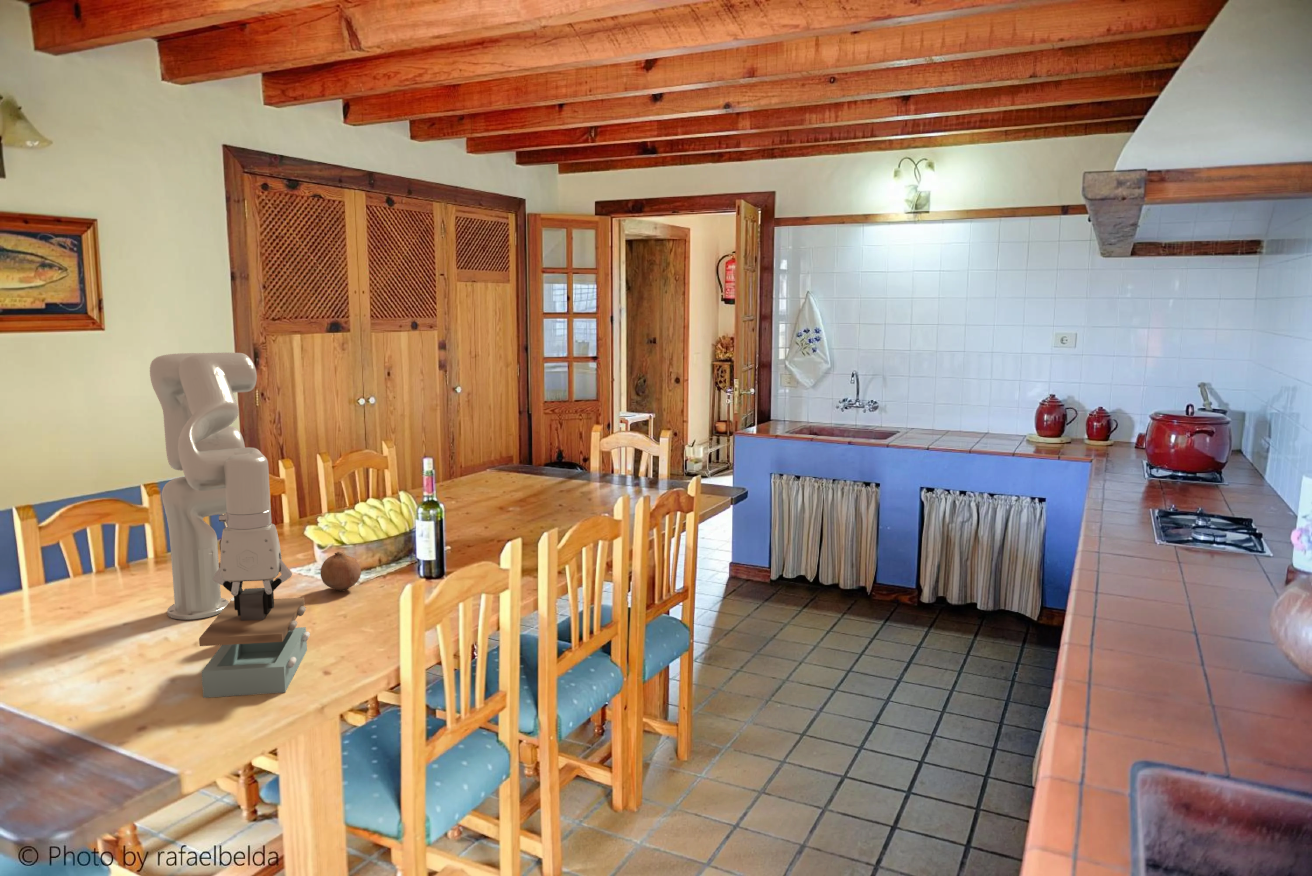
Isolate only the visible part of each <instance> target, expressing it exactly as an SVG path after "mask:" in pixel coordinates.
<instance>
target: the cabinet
mask: <svg viewBox="0 0 1312 876" xmlns="http://www.w3.org/2000/svg"><path fill="white" fill-rule="evenodd" d="M310 636H311V633H310V631H307V627H306V626H304V627H303V626H302V627H295V629H294V630H293V631H288V633H287V635H286V636H285V638H284V640H283V642H269V643H251V644H232V645H220V647H219V648H218V650H216V652H215V653H214V655H213V656H212V658H211V659H210V660H209V661H208V662H207V664H206V665H205V666H204V668H202V670H201V685H202V696H203V697H202V698H203V699H204V698H218V697H219V698H221V697H235V696H236V697H237V696H249V695H250V696H251V695H265V694H266V695H267V694H281V693H286V691H287V690H288V688H289V686H290V685H291V682H292V680H293V678H294V677H295V674H296V673H297V671H298V669H299V667H300V665H301V663H302V661H303V659H304V657H305V655H306V653H307V651H308V645H307V644H308V640H309V638H310Z"/></svg>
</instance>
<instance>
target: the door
mask: <svg viewBox="0 0 1312 876" xmlns="http://www.w3.org/2000/svg"><path fill="white" fill-rule="evenodd" d="M264 593H265V588H264V587H255V588H252V587H251V588H244V589H243V592H242V593H241V594H240V595H239V596H240V612H241V616H238V612H237V610H235V607H234V601H231V600H230V601H228V602H229V603H228V605H227V606H226V607H225V608H224V609H223V611H222V612H221V613H220V614H217V617H215V619H213V621H212V623H210V625H208V627H207V628H206V629H205V631H204V632H203V633H202V634H201V635H200V636H199V638H198V642H199V643H198V644H199V645H198V646H199V647H209V646H211V647H212V646H222V645H232V644H251V643H269V642H283V640H284V638H285V636H286V635H287V633H288V631H293V630H294V629H295V628H297V625H298V622H297V618H298V616H299V617H302V616H304V613H305V612H306V610H307V607H306V606H305V597H285V598H284V597H282V598H274V608H272V609H271V611H270V612H269V614H266V615H265V614H264V604H263V595H264Z"/></svg>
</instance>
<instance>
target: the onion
mask: <svg viewBox="0 0 1312 876" xmlns="http://www.w3.org/2000/svg"><path fill="white" fill-rule="evenodd" d="M361 569H362V568H361V565H360V563H359V562H358V561H357V559H356V558H354V557H352V556H350V555H347V554H345V553H344V552H341V551H336V552H334V553H333V555H330V556H328V557H327V558H326V559H324V561H323V563H322V565H321V568H320V578H321V581H322V583H323V584H324V585H325V586H327V587H329V588H330V589H332V590H333V589H334V590H335V592H344V591H347V590H350V588H352V587H353V586H354V585H355V584H357V583H358V582H359V580H360V578H361V575H362V570H361Z"/></svg>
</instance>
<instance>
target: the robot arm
mask: <svg viewBox="0 0 1312 876" xmlns="http://www.w3.org/2000/svg"><path fill="white" fill-rule="evenodd" d="M257 374H258V373H257V368H256V366H255V364H254V362H253V360H252V358H250V356H248V355H247V354H246V353H242V352H189V353H188V352H187V353H184V352H182V353H168V354H163V355H160V356H157V357H155V358H153V359H152V361H151V363H150V367H149V376H150V377H149V378H150V382H151V387H152V389H153V391H154V393H155V395H156V397H157V399H158V401H159V404H160V406H161V409H162V414H163V424H164V425H163V427H164V442H165V451H166V458H167V461H168V465H169V466H170V467H171V468H172V469H173V470H176V471H183V475H184V476H181V477H177V478H173V479H171V480H169V481H168V482H166V483H165V485H164V486H163V488H162V490H161V500H162V505H163V507H164V512H165V516H166V520H167V527H168V533H169V534H168V535H169V546H170V547H169V548H170V557H171V559H170V560H171V570H172V571H171V572H172V585H173V599H174V604H172V605H170V606H169V607H168V608H167V610H166V611H167V616H168V617H169V618H172V619H175V620H181V621H182V620H183V621H185V620H186V621H187V620H189V621H190V620H198V619H199V620H200V619H206V618H208V617H209V618H210V617H213V616H216V615H217V616H218V615H219V614H220V613H221V612H222V611H223V609H224V608H225V607H226V606H227V605H228V603H229V602H230V601H228V600H227V599H225V598H223V597H222V595H221V592H222V591H221V586H223V587H224V589H226V590H227V591H229V593H230V594H231V596H232V597H234V607H235V610H237V612H238V616H241V612H240V596H239V595H240V594H241V593H242V592H243V591H244V589H243V584H244V583H243V582H257V581H258V582H259V581H260V582H261V581H262V584H263V588H265V593H264V595H263V604H264V614H265V615H266V614H269V612H270V611H271V609H272V608H274V599H275V594H274V593H275V592H274V591H275V590H276V589H277V588H279V586H280V585H281V584H283V583H285V582H286V581H287V580H289V579H290V578H291V577H292V576H293V573H292V571H291V570H290V569H289V567H288V566H287V565H286V564H285V562H284V561H283V560H282V551H281V550H282V549H281V544H280V540H279V539H280V538H279V535H278V530H277V527H276V525H275V524H274V523H272V510H271V508H272V507H271V489H270V471H269V470H270V469H269V460H268V458H267V457H266V456H265V455H264V454H263V453H262V452H261V451H260V450H259V449H258V448H256V447H246V445H245V440H244V437H243V435H242V433H241V432H240V430H239V429H238V428H236V427H234V426H231V425H232V424H233V423H234V422H235V421H236V420H237V418H238V417H239V411H240V410H239V405H238V403H237V401H236V398H235V396H234V393H235V394H236V393H248V392H252V391H253V390H254V389H255V387H256V385H257V380H258V375H257ZM217 515H218V521H219V522H222V523H225V524H226V527H224V528H223V529H222V533H221V538H222V540H221V539H220V540H221V552H220V562H219V548H218V547H219V545H218V536H217V533H216V531H215V530H214V528H213V527H212V526H211V525H210V524H208V523H207V522H205V521H204V519H205V517H206V518H207V517H211V516H217ZM279 573H280V574H279Z"/></svg>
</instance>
